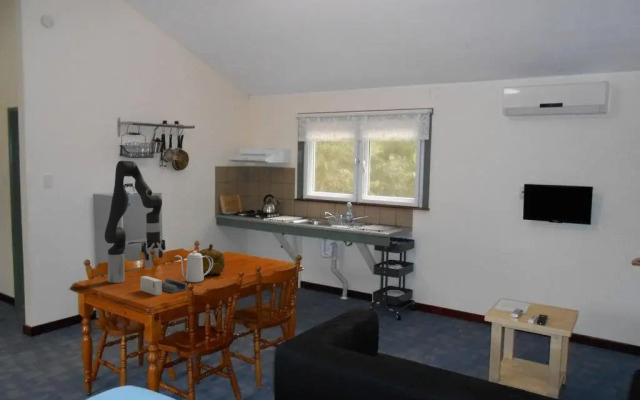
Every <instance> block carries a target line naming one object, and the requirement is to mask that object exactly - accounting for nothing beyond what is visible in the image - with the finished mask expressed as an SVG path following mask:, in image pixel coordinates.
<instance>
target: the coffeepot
mask: <svg viewBox="0 0 640 400" xmlns="http://www.w3.org/2000/svg"><path fill="white" fill-rule="evenodd" d="M202 257H205V256H202V255H201V254H200V253H198V252H197V250H193V252H190V253H188V254H187V257H186V270H185V271H186V273H185V274H184V265H183V263H184V261H183V257H182V256H181V255H177V254H176V255H175V256H174V258H179V259H180V263H181V265H180V266H181V274H182V278H185V281H187V282H188V283H201V282H203V281H204V279H205V277H204V276H206V274H207V273H209V271H210V270H211V269H212V267H213V260H212V266H211V262H210V260H209V262H210V267H211V268H210V267H209V269H208V271H207V272H206V273H205V274H203V261H202ZM208 257H209V256H208ZM210 258H211V257H210ZM208 259H209V258H208ZM211 259H212V258H211Z"/></svg>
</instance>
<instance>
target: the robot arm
mask: <svg viewBox="0 0 640 400" xmlns="http://www.w3.org/2000/svg"><path fill="white" fill-rule="evenodd" d="M114 175H115V176H114V186H113V193H112V197H111V203H110V211H109V215H108V220H107V223H106V226H105V231H104V240H105V242H106V243H107V244H109V245H110V244H113V245H112V246H111V247H110V248H108V250H107V281H108V283H110V284H119V283H124V282H125V280H126V279H125V250H126V242H127V241H126V238H127V237H126V236H127V234H126V232H125V231H126V230H125V229H124V228H123V227H121V226H119V227H118V225H119V222H120V220H121V219H122V218H123V216H124V214H125V213H126V212H127V210H128V205H129V199H130V198H129V195H128V192H127V190H126V188H125V182H124V181H125V177H129V178H130V177H132V178H133V180H134V189H135V191H136V192H137V194H138V196H139V197H140V199H141V203H142V206H143V207H144V208H145V209H152V210H151V211H149V212H147V213H146V215H145V217H146V220H145V221H146V222H145V223H146V225H145V234H146V237H145V239H146V241H143V242H141V253H143V254H144V259H145V261H149V260H150V254H149V253H150V252H151V251H152V250H154V249H157V250H158V258H159V259H162V258H163V255H164V254H163V252H164V251H166V240H165V239H161V225H160V215H161V211H162V207H163V206H162V205H163V199H162V197H161V196H160V195H157V194H155V195H153V190H152V189H151V187H150V185H148V183H147V182H146V181H145V179H144V177H143V174H142V172H141V171H140V168H139V166H138V164H137V163H136V162H135V161H133V160H118V161H117V163H116V165H115V174H114Z"/></svg>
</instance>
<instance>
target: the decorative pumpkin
mask: <svg viewBox="0 0 640 400" xmlns="http://www.w3.org/2000/svg"><path fill="white" fill-rule="evenodd" d="M213 247H214V245H213V244H212V243H211V244H209V246H208V248H207V247H206V248H203V249H201V250H200V251H198V252H197V253H200V254H201V255H202V256H205V257H202V261H203V274H205V273H206V272H207V271H208V269H209V267H210V262H211V266H212V260H213V267H212V269H211V270H210V271H209V273H207V274H206V275H207V276H213V275H219V274H222V272H223V271H224V269H225V265H226V262H225V261H226V260H225V256H224V254H223V252H221V251H219V250H216V249H213ZM208 256H209V257H208ZM210 257H211V258H212V259H211V258H210ZM208 258H209V259H208ZM209 260H210V262H209ZM210 268H211V267H210ZM206 275H205V276H206Z"/></svg>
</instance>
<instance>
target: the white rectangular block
mask: <svg viewBox="0 0 640 400" xmlns="http://www.w3.org/2000/svg"><path fill="white" fill-rule="evenodd" d="M162 282H163V280H161V279H158V278H154V277H151V276H147V275H143V276H140V291H142V292H144V293H148V294H151V295H154V296H160V295H163V290H162Z"/></svg>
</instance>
